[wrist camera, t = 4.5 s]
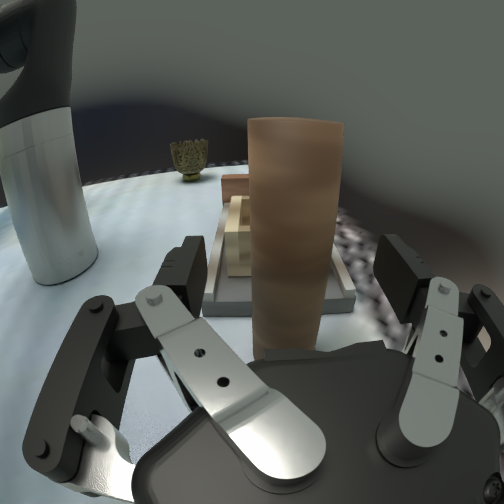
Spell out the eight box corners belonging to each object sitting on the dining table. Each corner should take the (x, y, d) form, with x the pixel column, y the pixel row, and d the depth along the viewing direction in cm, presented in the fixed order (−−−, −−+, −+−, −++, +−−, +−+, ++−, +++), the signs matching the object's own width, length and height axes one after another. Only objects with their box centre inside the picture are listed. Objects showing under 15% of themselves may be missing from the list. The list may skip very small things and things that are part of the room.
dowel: (240, 355, 17) (227, 120, 10) (276, 322, 20) (283, 116, 13) (290, 386, 15) (316, 125, 8) (323, 346, 18) (357, 124, 11)
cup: (213, 182, 51) (210, 141, 47) (174, 187, 50) (170, 146, 46) (207, 173, 58) (204, 137, 54) (173, 178, 56) (169, 141, 52)
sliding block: (325, 274, 22) (331, 230, 20) (227, 276, 22) (224, 231, 20) (309, 231, 29) (311, 195, 27) (233, 231, 29) (231, 195, 27)
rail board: (352, 312, 20) (366, 251, 18) (203, 316, 21) (192, 254, 18) (309, 212, 38) (311, 174, 35) (225, 213, 38) (222, 174, 35)
